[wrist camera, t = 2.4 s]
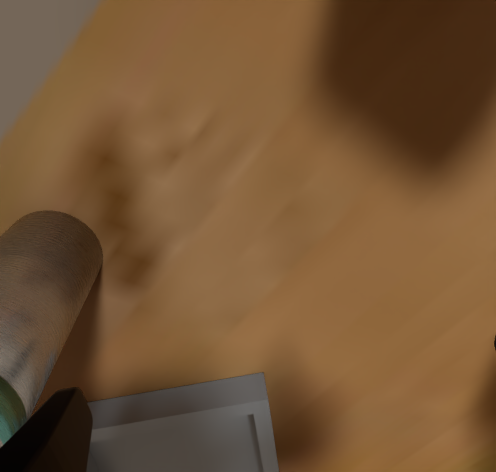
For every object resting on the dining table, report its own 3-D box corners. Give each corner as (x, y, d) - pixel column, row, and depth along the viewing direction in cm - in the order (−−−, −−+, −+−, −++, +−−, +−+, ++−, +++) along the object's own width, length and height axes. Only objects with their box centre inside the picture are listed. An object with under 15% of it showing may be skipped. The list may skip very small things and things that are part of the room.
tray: (263, 372, 24) (268, 399, 23) (281, 493, 30) (286, 522, 28) (54, 408, 24) (42, 438, 22) (114, 523, 30) (107, 555, 28)
